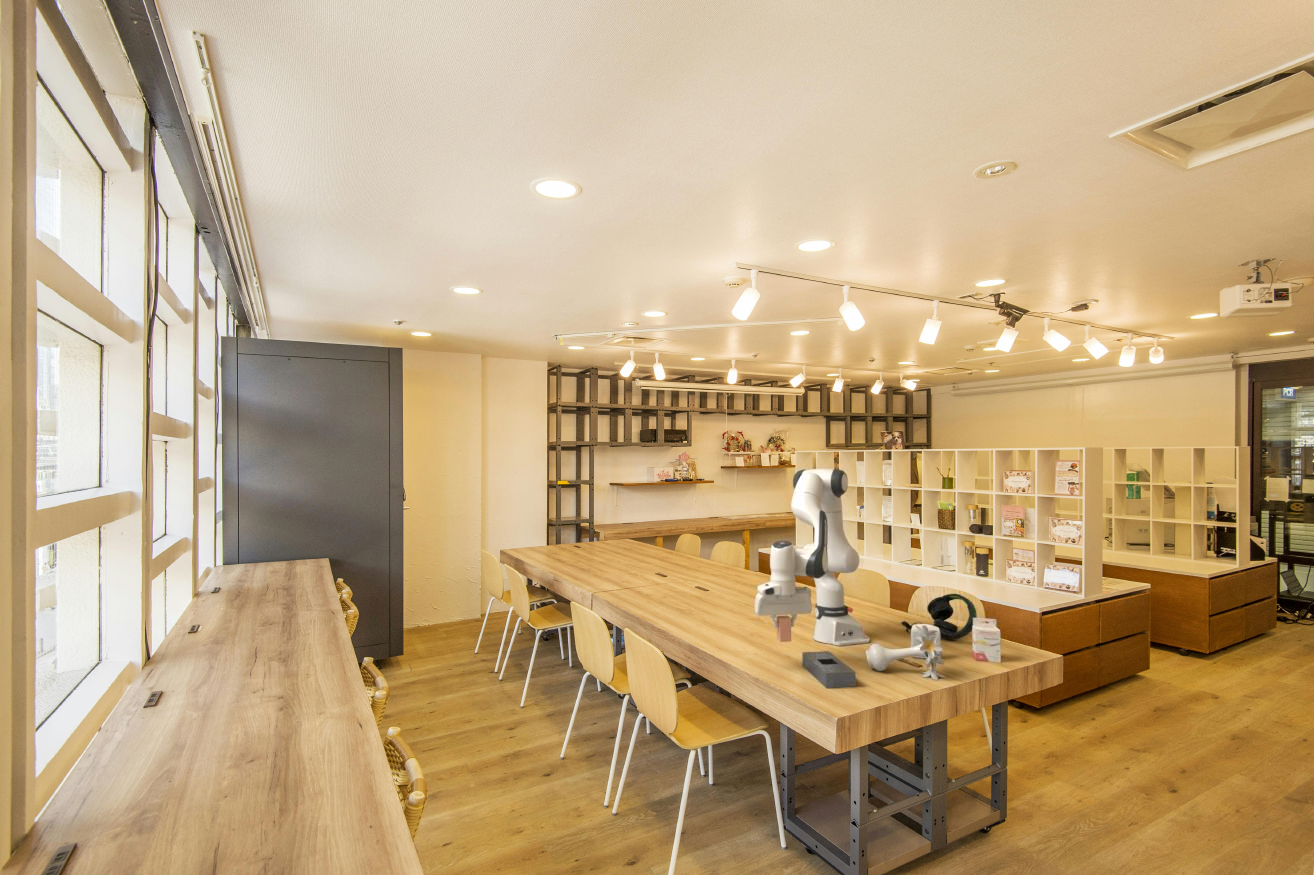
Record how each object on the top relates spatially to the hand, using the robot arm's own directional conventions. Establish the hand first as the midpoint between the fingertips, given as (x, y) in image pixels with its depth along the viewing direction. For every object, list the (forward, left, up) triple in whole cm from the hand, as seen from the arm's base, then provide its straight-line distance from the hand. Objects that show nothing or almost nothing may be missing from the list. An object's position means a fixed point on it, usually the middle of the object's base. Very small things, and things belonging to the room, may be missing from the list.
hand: (783, 626), depth 219 cm
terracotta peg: (0, 0, -5) cm, 5 cm away
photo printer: (-57, -6, -15) cm, 59 cm away
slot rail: (-13, +8, -15) cm, 21 cm away
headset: (-76, -29, -15) cm, 83 cm away
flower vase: (-41, +9, -15) cm, 44 cm away
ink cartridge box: (-78, -1, -15) cm, 79 cm away
